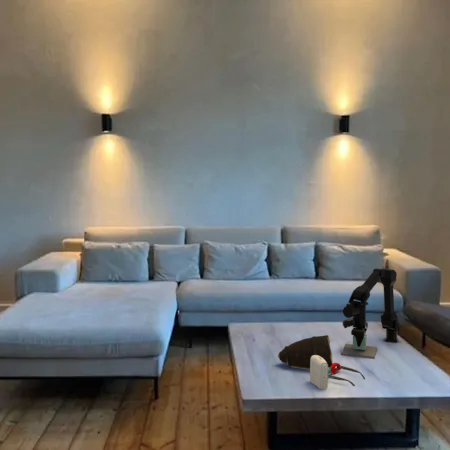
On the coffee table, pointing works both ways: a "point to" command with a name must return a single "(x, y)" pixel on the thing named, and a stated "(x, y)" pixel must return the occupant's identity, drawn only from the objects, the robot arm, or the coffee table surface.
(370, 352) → the mat
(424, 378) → the coffee table surface
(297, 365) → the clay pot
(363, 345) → the cube
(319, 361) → the photo printer
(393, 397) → the coffee table surface
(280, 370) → the coffee table surface
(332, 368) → the novelty glasses
